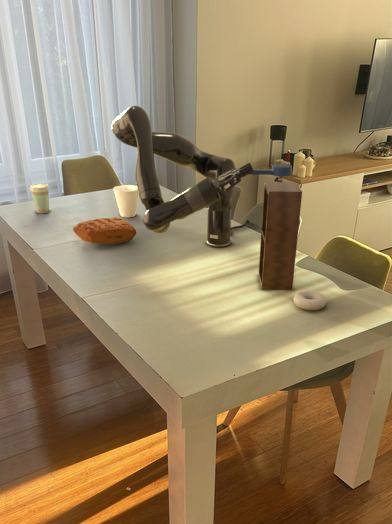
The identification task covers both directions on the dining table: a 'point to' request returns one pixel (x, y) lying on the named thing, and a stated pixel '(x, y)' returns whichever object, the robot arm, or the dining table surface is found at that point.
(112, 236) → the cuneiform tablet
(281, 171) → the blue elongated piece
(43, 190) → the coffee cup
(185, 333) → the dining table surface
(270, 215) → the shelf
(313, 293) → the donut
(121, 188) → the cup
